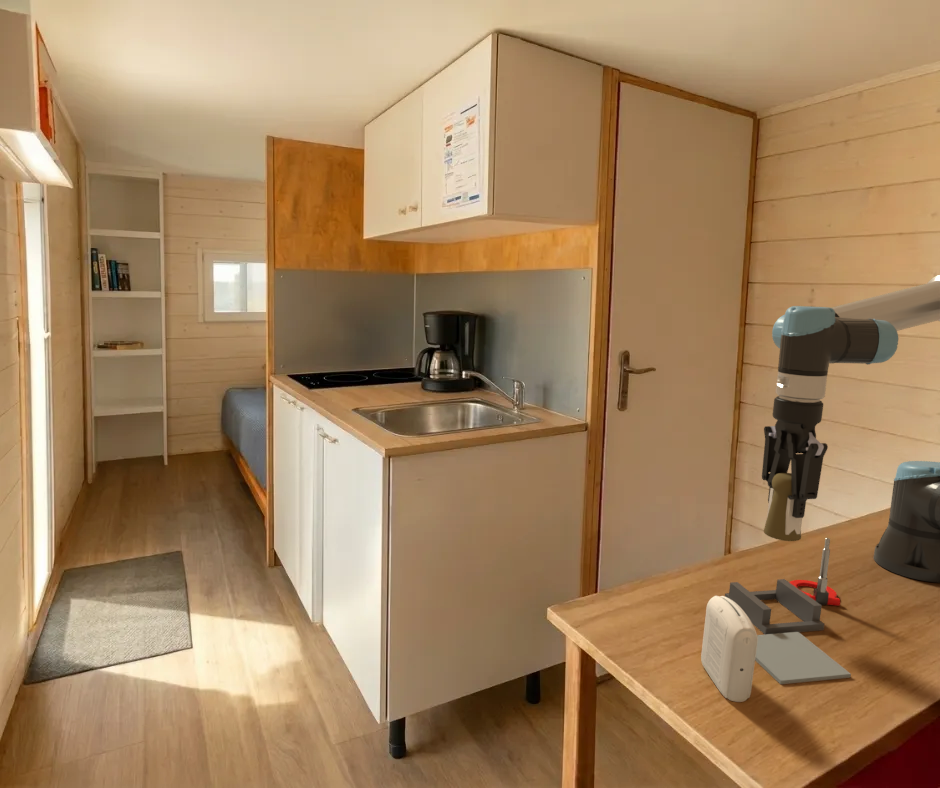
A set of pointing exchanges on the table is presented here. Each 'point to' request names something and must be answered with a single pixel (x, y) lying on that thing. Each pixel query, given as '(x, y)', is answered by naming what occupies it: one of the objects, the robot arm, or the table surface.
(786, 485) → the cork
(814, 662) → the mat
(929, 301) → the robot arm
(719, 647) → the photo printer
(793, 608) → the grey square frame
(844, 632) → the table surface
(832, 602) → the tow hook
